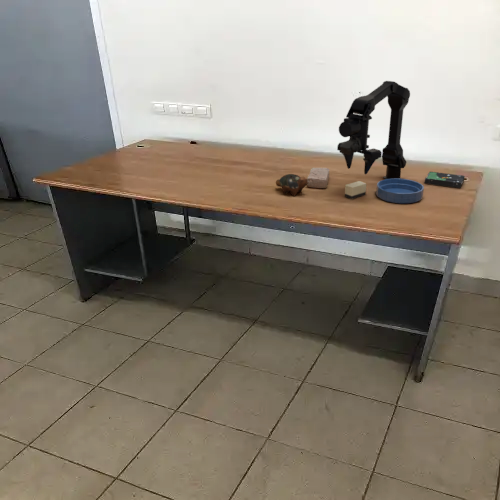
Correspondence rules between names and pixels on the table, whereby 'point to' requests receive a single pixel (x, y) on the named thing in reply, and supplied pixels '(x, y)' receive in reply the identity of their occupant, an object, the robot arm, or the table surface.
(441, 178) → the disk drive
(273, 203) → the table surface
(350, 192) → the eraser
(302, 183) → the decorative turtle
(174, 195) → the table surface
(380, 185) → the bowl
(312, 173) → the brick
